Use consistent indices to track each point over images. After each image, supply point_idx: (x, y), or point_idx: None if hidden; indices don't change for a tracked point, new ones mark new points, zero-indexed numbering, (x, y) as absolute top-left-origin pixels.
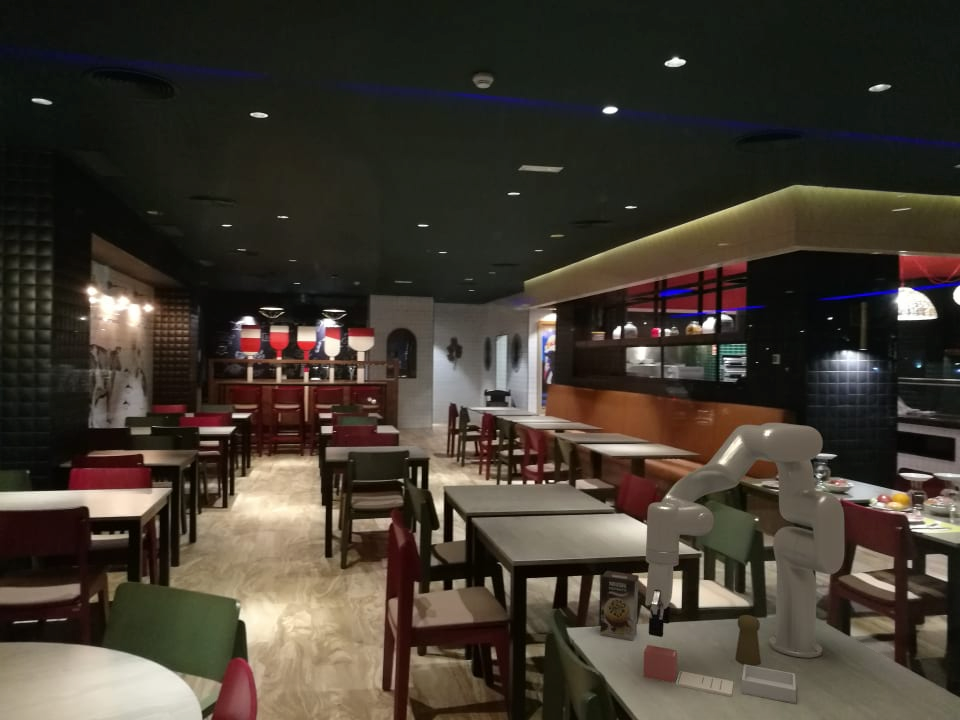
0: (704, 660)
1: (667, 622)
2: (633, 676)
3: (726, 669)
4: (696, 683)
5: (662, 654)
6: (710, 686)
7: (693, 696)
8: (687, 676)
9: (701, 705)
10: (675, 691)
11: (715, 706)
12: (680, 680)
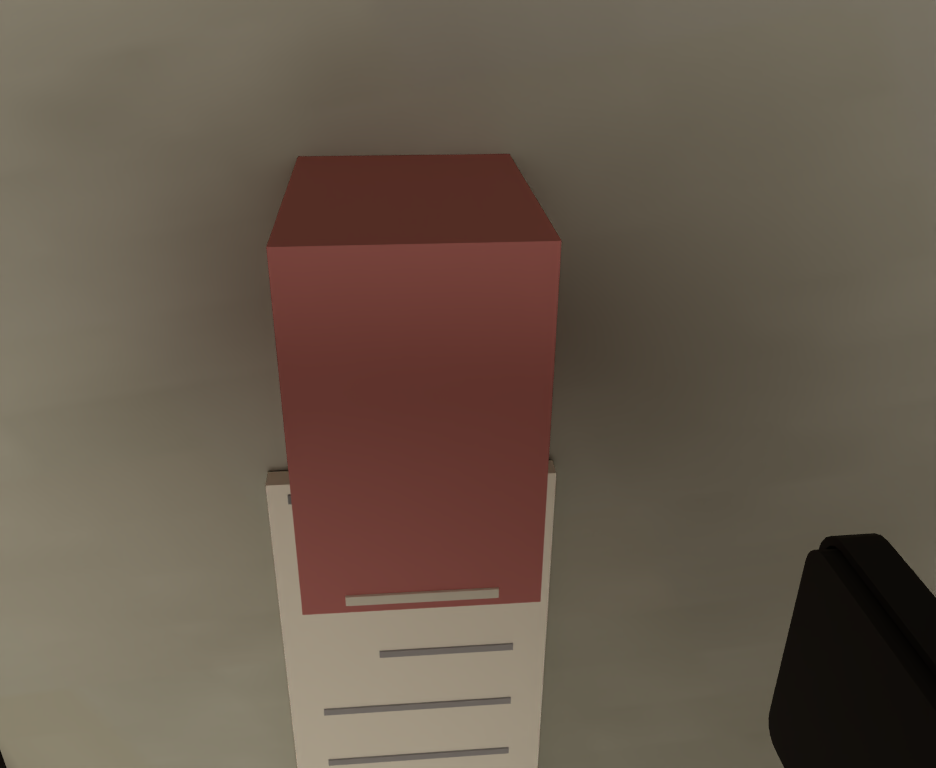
0: None
1: (778, 728)
2: (239, 46)
3: None
4: (354, 621)
5: (306, 487)
6: (349, 709)
7: (146, 614)
8: None
9: (25, 680)
10: (147, 487)
11: (80, 751)
12: None
